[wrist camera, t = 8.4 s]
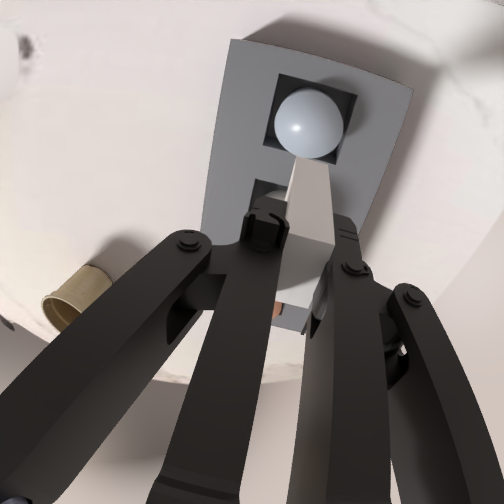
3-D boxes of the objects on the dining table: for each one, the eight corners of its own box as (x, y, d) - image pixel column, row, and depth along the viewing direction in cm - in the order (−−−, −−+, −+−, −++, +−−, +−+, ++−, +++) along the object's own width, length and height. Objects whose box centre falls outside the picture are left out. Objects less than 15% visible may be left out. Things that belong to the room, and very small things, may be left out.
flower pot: (129, 276, 42) (101, 322, 35) (119, 313, 48) (95, 355, 41) (74, 244, 41) (39, 284, 34) (70, 284, 46) (42, 322, 39)
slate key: (286, 80, 23) (282, 85, 20) (345, 96, 23) (351, 105, 20) (274, 134, 26) (268, 148, 23) (329, 149, 26) (332, 166, 23)
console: (241, 39, 23) (231, 38, 20) (400, 83, 23) (413, 90, 20) (202, 281, 40) (192, 304, 37) (311, 309, 40) (309, 334, 37)
